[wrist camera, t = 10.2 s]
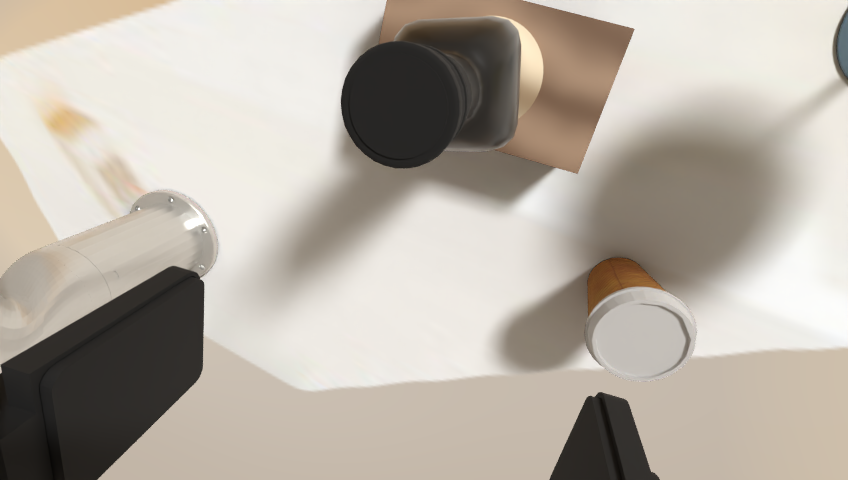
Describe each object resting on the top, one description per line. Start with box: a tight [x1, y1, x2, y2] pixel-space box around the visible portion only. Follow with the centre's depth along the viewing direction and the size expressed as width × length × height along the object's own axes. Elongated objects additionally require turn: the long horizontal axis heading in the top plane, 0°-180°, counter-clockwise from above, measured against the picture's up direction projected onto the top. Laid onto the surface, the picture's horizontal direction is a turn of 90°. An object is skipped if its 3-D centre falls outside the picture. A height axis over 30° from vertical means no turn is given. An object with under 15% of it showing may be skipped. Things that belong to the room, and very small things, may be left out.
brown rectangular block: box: [379, 0, 634, 174], centre depth 42 cm, size 12×20×8 cm, turn 76°
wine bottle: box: [341, 16, 521, 168], centre depth 25 cm, size 6×6×30 cm
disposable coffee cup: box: [585, 258, 697, 382], centre depth 46 cm, size 10×10×12 cm
